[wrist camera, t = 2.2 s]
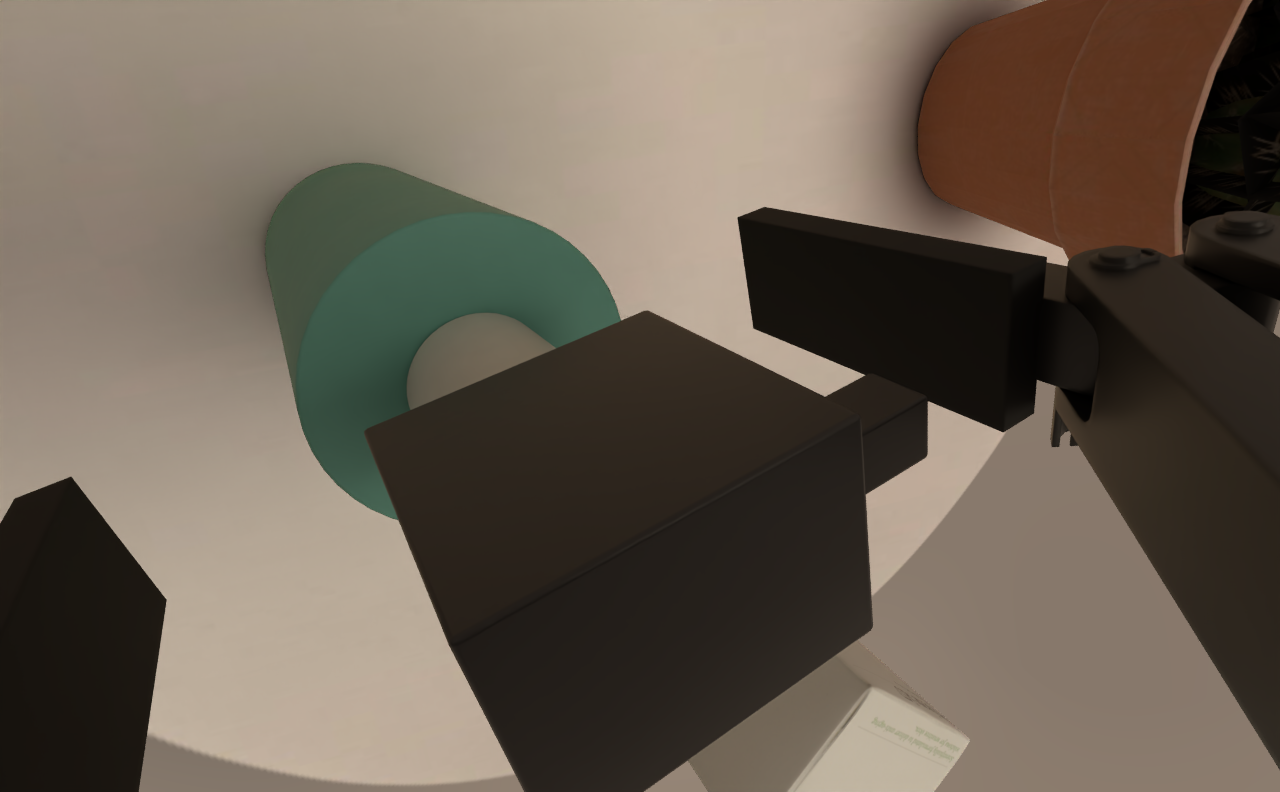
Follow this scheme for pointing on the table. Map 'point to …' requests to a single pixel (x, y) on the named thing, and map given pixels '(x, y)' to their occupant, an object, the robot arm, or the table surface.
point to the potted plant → (1109, 119)
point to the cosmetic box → (837, 736)
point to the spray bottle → (577, 475)
